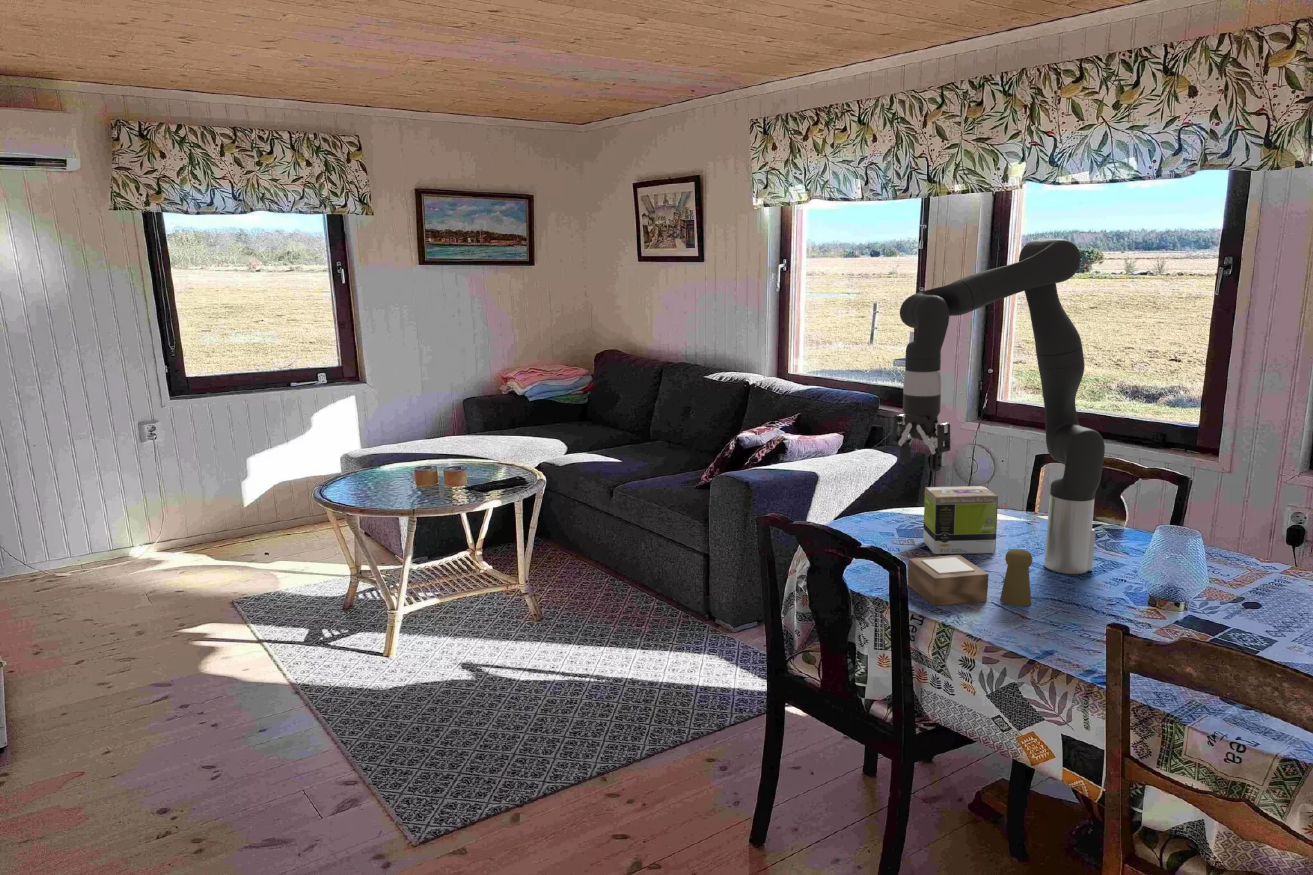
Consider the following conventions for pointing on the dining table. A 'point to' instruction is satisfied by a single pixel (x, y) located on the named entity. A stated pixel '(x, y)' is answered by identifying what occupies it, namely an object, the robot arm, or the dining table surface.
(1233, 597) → the dining table surface
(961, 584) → the block
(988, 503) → the tea box
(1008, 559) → the cork
